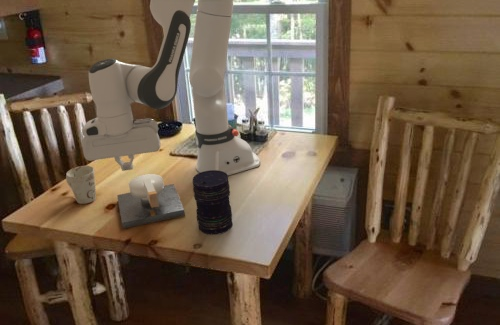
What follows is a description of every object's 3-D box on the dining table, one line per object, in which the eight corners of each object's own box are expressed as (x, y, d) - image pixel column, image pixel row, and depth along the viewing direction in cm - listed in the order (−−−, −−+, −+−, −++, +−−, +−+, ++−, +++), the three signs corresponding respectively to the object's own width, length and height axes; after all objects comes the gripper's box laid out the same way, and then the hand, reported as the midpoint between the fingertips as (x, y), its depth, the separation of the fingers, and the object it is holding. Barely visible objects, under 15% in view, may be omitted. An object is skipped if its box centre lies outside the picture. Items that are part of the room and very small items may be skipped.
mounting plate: (174, 189, 163) (172, 173, 160) (185, 215, 147) (182, 198, 144) (118, 200, 158) (114, 184, 156) (123, 228, 142) (119, 211, 140)
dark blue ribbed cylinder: (211, 213, 147) (205, 167, 141) (239, 220, 142) (235, 173, 136) (191, 230, 139) (184, 182, 133) (220, 238, 135) (215, 189, 128)
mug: (85, 208, 155) (78, 179, 151) (58, 199, 161) (51, 171, 157) (105, 196, 161) (99, 168, 157) (79, 188, 168) (72, 161, 164)
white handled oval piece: (128, 187, 153) (125, 172, 151) (160, 180, 156) (158, 165, 154) (137, 214, 137) (134, 198, 135) (173, 205, 140) (170, 189, 138)
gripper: (156, 113, 135) (166, 159, 140) (80, 123, 134) (93, 169, 140) (154, 121, 129) (164, 169, 135) (75, 131, 128) (88, 179, 134)
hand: (127, 169), depth 137 cm, fingers closed
